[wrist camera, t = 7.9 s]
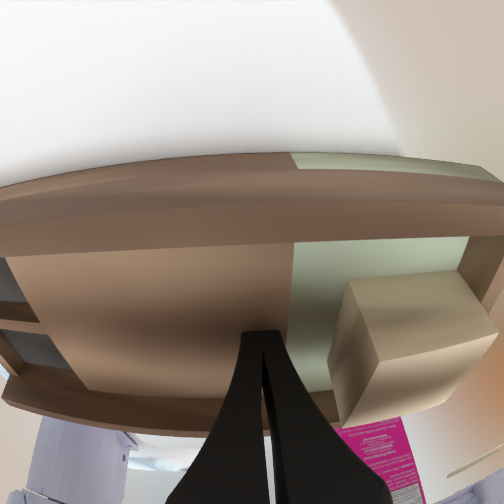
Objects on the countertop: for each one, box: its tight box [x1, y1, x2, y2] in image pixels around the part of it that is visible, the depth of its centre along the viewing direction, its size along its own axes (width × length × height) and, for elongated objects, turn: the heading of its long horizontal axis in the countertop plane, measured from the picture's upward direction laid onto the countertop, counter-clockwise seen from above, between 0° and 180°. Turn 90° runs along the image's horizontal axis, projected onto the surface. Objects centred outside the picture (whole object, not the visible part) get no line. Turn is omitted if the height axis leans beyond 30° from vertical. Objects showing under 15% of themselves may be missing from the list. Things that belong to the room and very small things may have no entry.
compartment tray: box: [0, 152, 504, 438], centre depth 11 cm, size 13×26×4 cm, turn 91°
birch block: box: [327, 270, 499, 429], centre depth 10 cm, size 5×5×4 cm
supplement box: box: [334, 416, 426, 504], centre depth 17 cm, size 6×6×12 cm
